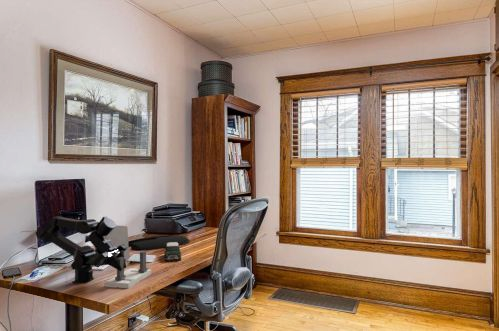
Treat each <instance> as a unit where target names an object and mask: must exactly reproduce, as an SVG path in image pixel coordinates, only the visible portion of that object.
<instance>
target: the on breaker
mask: <svg viewBox="0 0 499 331" xmlns="http://www.w3.org/2000/svg"><path fill="white" fill-rule="evenodd" d="M138 269H139V270H138V272H145V271H147V270H148V269H149V268H148V267H147V250H143V251H139V268H138Z"/></svg>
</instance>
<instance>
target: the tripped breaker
mask: <svg viewBox="0 0 499 331" xmlns="http://www.w3.org/2000/svg"><path fill="white" fill-rule="evenodd" d="M118 261H119V263H120V265H121V268H122V270H121V271H119V270H117V269H116V276H117V277H115V276H114V277H115V280H122V279H124V278H126V275H124V271H125V269H124V257H120V258H118Z"/></svg>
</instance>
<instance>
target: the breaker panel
mask: <svg viewBox="0 0 499 331" xmlns="http://www.w3.org/2000/svg"><path fill="white" fill-rule="evenodd" d="M139 269H140V268H128V269H125V270H124V275H126V278H124V279H122V280H115V277H117V275H115V276H114V277H112V278H110V279H107V280H106V281H104V287H105V288H117V287H118V289H119V288H120V289H130V288H131V287H133V286H134V285H135V284H137V283H139V282H140V281H142V280H143V279H145V278H147V277H148V276H150V275H151V274H152V269H151V268H150V269H149V268H148V270H147V271H145V272H138V270H139Z"/></svg>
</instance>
